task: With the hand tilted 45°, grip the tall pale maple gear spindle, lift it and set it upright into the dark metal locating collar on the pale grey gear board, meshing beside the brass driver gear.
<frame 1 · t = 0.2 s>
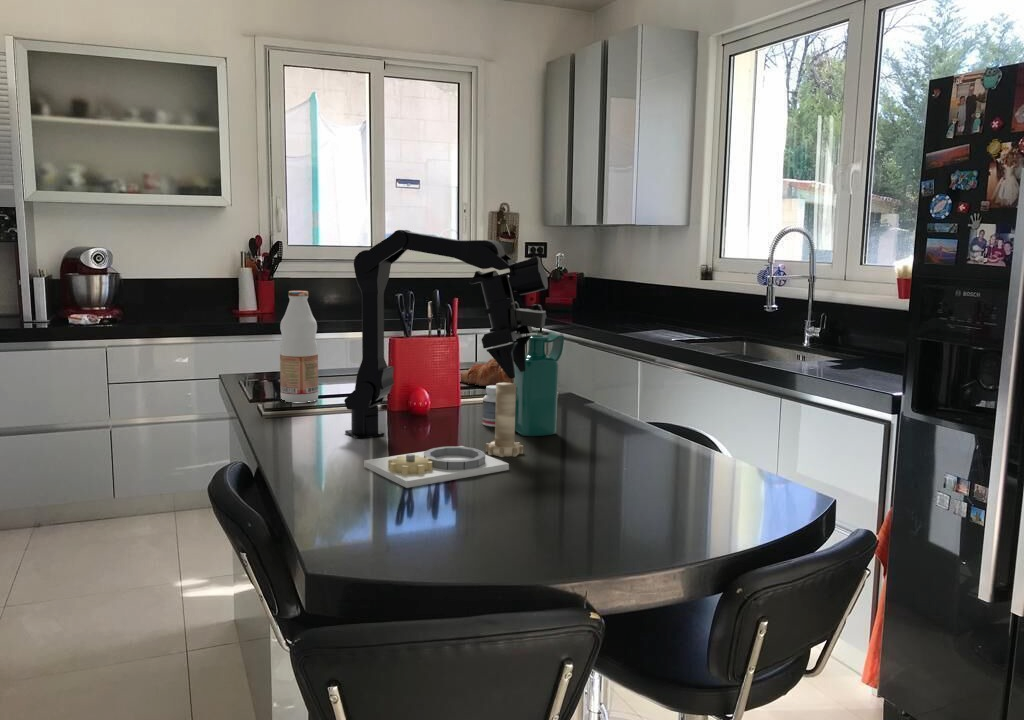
hand: (517, 374, 180), 15 cm above the kitchen island, tool tilted 15°, fingers open, 9 cm apart
gear board: (436, 468, 165), on the kitchen island
pastry: (491, 386, 255), on the kitchen island
fruit juice: (299, 401, 225), on the kitchen island
pitcher: (536, 432, 197), on the kitchen island
pill bottle: (493, 425, 203), on the kitchen island
gear spindle: (504, 452, 178), on the kitchen island
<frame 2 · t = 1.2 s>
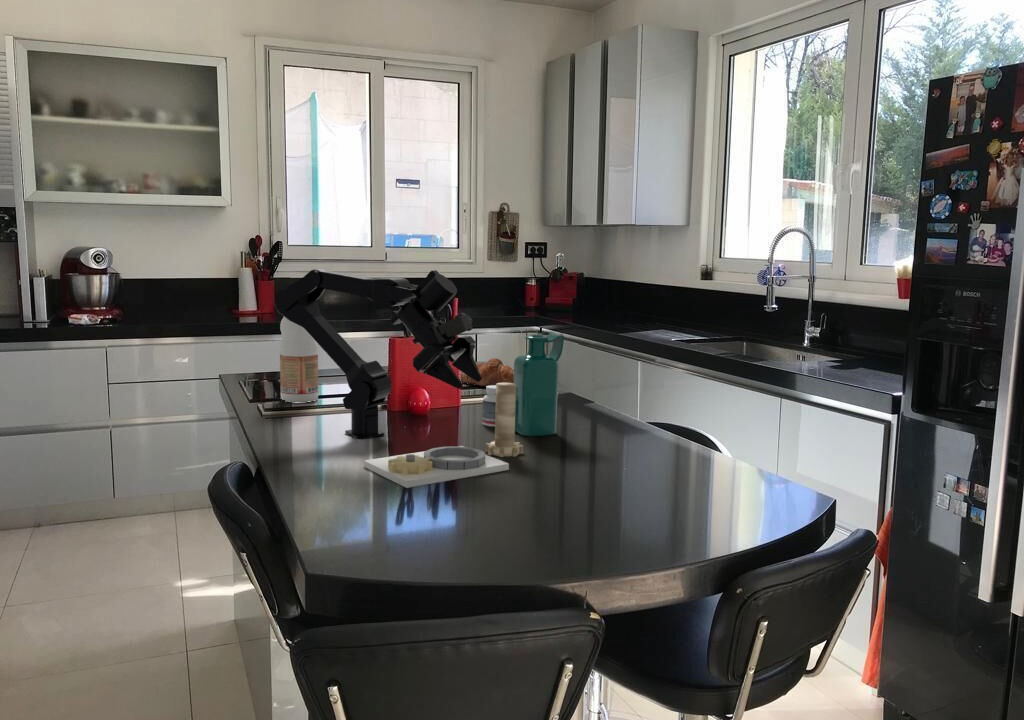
hand: (470, 384, 179), 13 cm above the kitchen island, tool tilted 45°, fingers open, 9 cm apart
nothing on the kitchen island moved.
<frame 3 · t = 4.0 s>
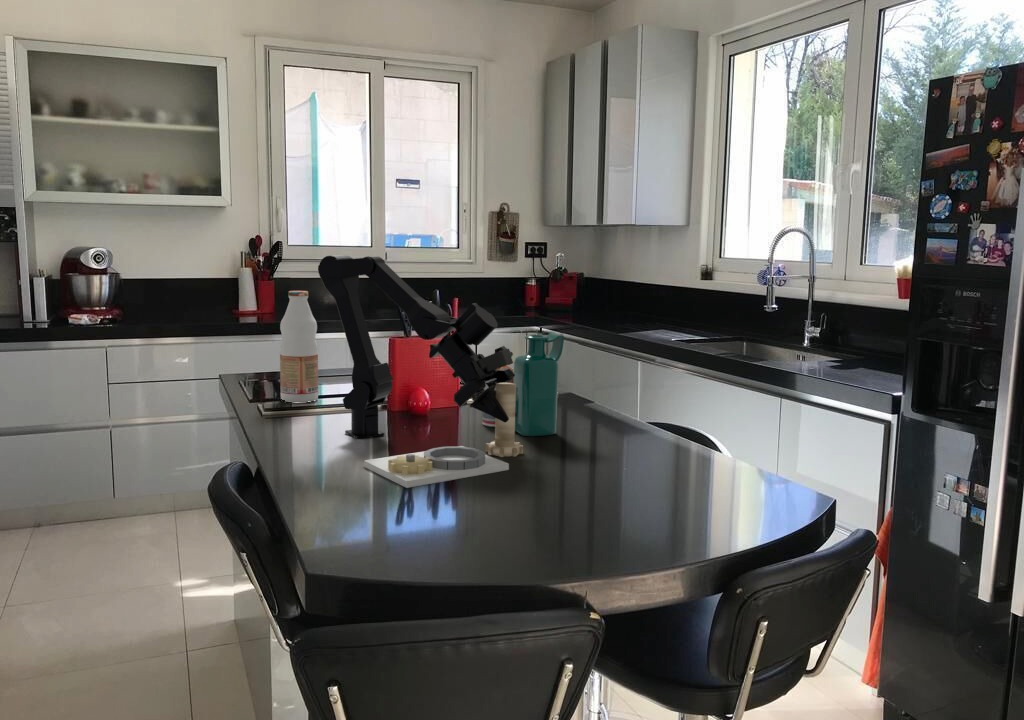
hand: (511, 418, 176), 7 cm above the kitchen island, tool tilted 45°, fingers closed on gear spindle, 4 cm apart
gear spindle: (504, 452, 178), on the kitchen island, touching gripper
everything else where it was.
when the fingers open (10 cm above the kitchen island, at t = 7.4 s): gear spindle drops 2 cm, resting on gear board.
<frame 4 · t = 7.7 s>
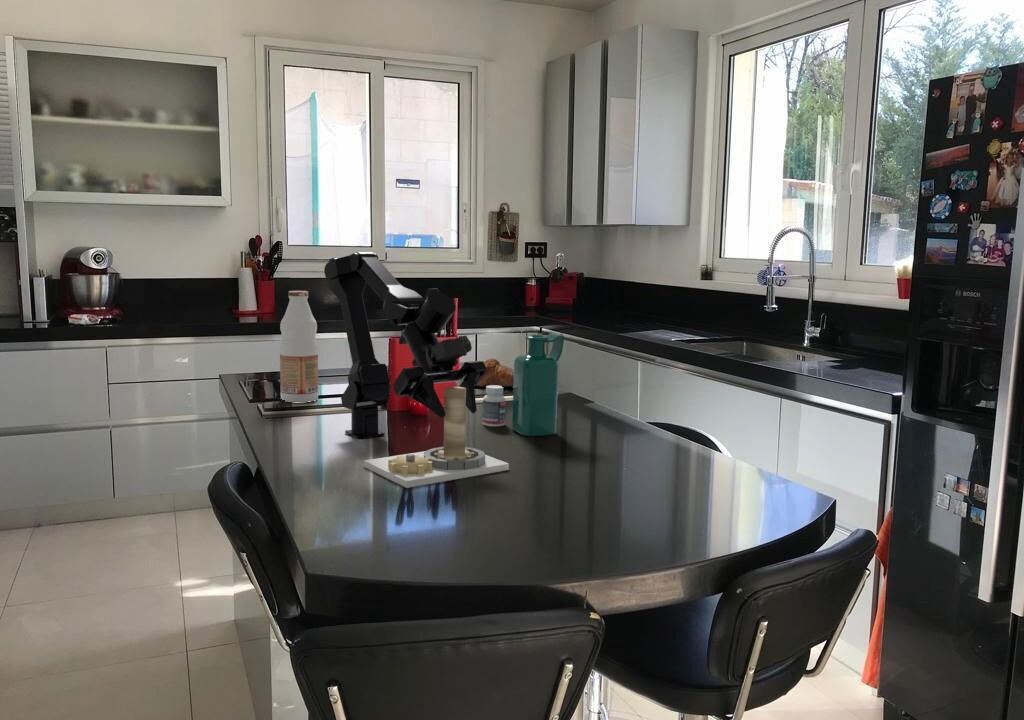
hand: (459, 414, 163), 11 cm above the kitchen island, tool tilted 45°, fingers open, 7 cm apart
gear spindle: (454, 461, 165), point 1 cm above the kitchen island, touching gear board
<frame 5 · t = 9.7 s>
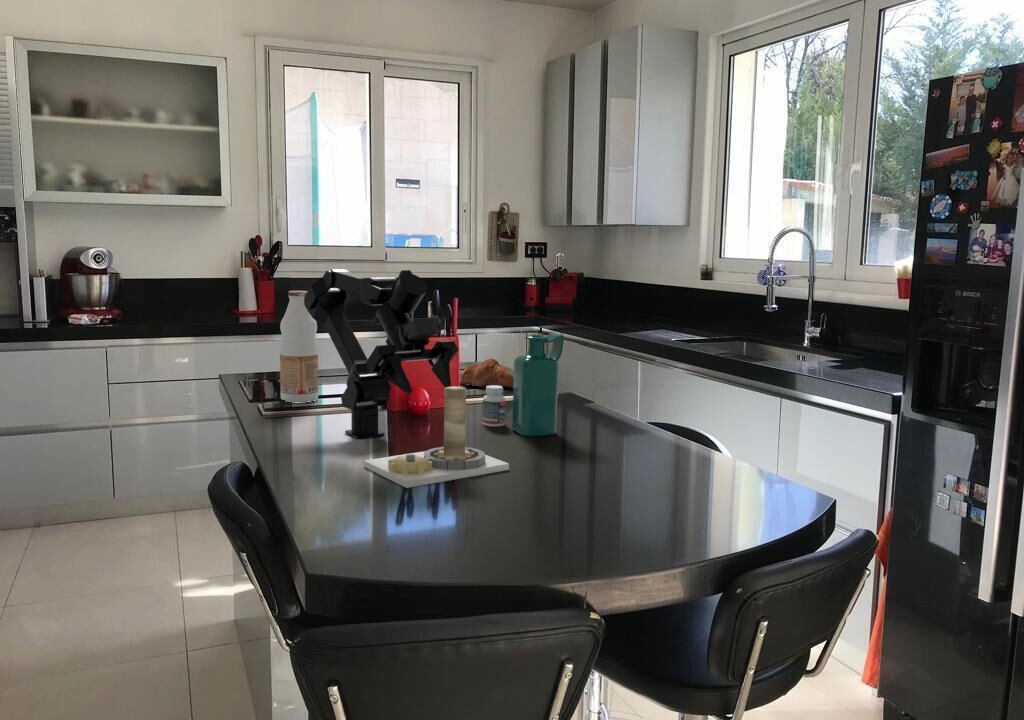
hand: (430, 390, 169), 14 cm above the kitchen island, tool tilted 45°, fingers open, 9 cm apart
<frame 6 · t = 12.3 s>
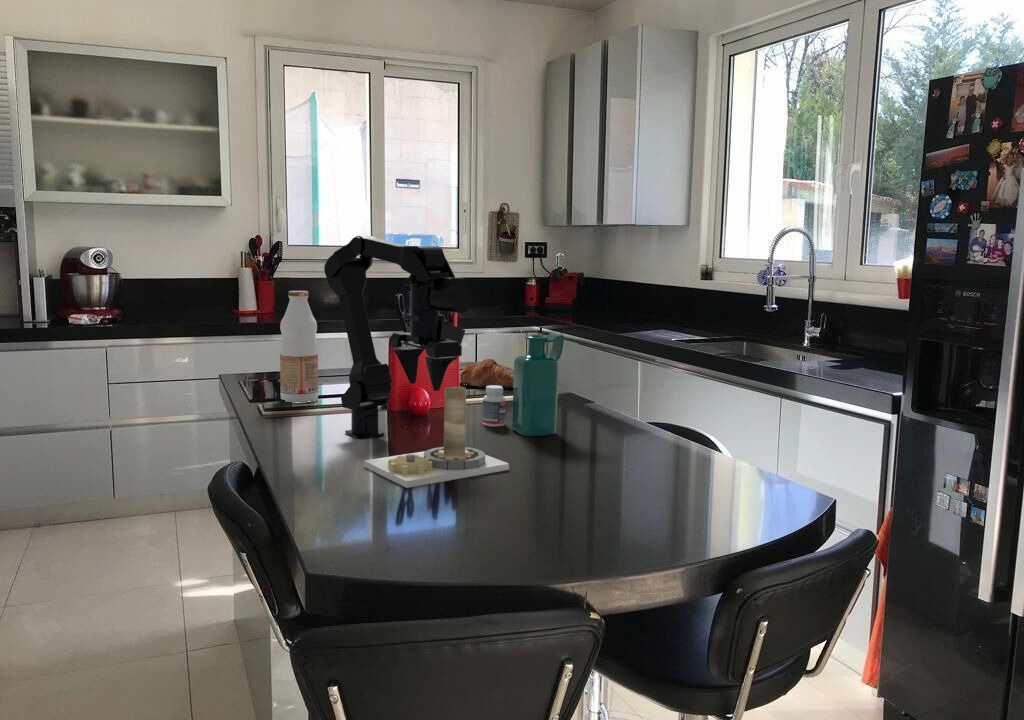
hand: (424, 387, 176), 13 cm above the kitchen island, tool pointing down, fingers open, 9 cm apart
at the end: gear spindle 0.0 cm from the target spot on the gear board, point 1.2 cm above the gear board's base; gear spindle tilted 0°; the gripper is holding nothing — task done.
